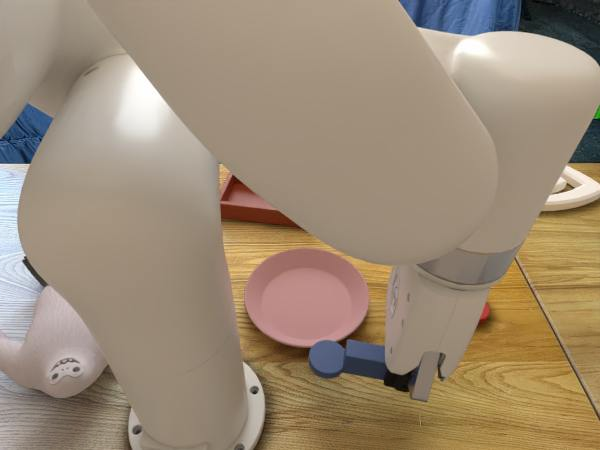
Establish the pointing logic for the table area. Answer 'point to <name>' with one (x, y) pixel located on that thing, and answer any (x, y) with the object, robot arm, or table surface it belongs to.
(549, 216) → the table surface
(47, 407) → the table surface
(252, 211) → the tray
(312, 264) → the plate
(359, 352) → the blue spoon
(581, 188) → the decorative sculpture
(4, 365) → the yeti figurine
